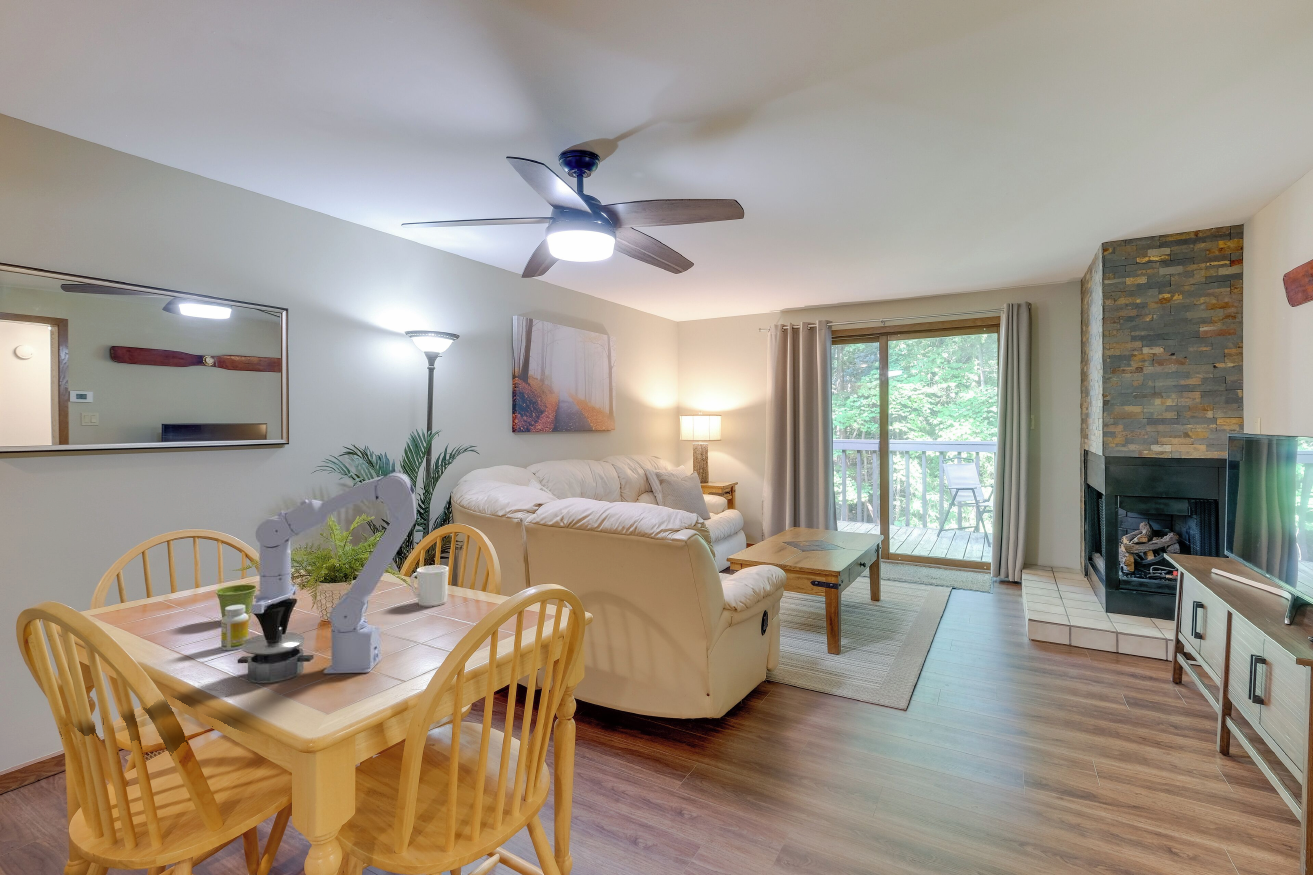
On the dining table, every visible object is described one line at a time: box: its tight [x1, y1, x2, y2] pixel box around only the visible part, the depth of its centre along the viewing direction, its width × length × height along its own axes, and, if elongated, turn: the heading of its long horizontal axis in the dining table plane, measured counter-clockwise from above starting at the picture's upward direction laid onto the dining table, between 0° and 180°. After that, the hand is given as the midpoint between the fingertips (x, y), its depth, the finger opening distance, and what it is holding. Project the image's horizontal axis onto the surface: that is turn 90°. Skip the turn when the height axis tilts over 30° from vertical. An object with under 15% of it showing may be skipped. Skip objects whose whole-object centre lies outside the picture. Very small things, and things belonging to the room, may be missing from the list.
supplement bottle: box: [220, 605, 250, 651], centre depth 147 cm, size 5×5×10 cm
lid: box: [241, 625, 305, 656], centre depth 131 cm, size 11×11×5 cm
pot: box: [237, 647, 314, 685], centre depth 131 cm, size 15×10×4 cm
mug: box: [410, 564, 449, 608], centre depth 182 cm, size 11×9×10 cm
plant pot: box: [214, 583, 258, 620], centre depth 166 cm, size 9×9×9 cm
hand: (275, 636), depth 131 cm, fingers closed on lid, 3 cm apart
